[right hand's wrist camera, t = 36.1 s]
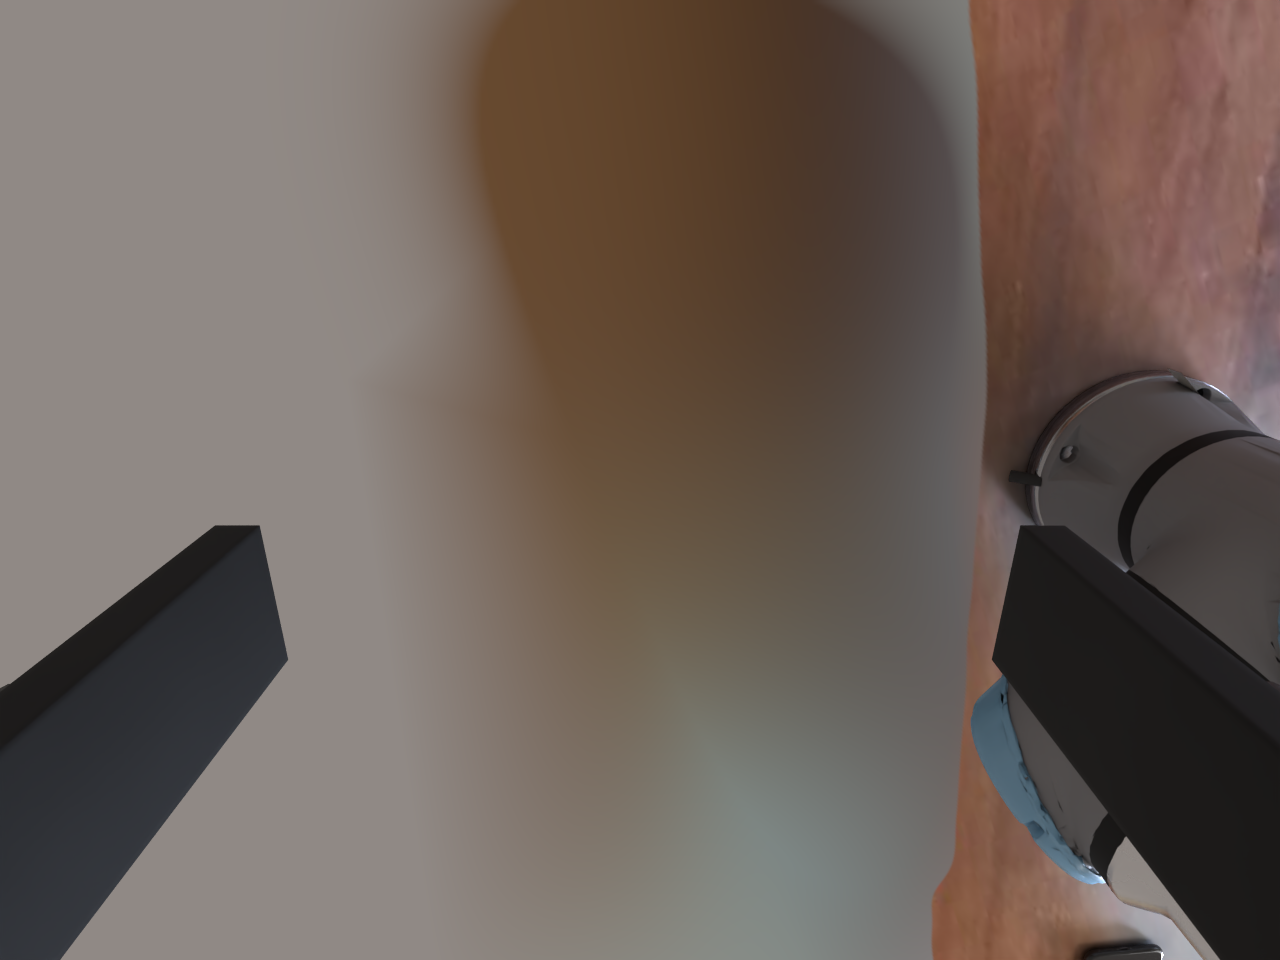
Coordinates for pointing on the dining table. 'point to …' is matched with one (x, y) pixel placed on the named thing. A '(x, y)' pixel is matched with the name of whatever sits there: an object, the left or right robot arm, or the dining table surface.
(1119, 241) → the dining table surface
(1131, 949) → the smartphone
